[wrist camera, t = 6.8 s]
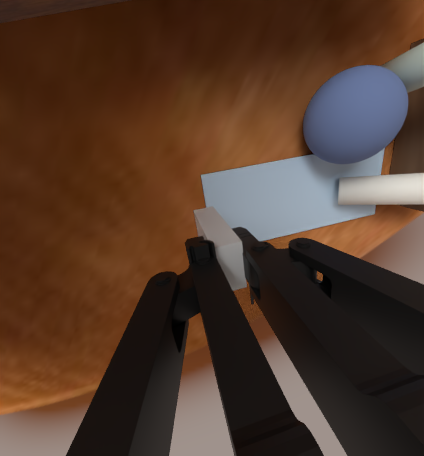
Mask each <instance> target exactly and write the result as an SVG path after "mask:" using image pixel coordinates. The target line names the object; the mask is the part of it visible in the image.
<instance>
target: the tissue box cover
mask: <svg viewBox="0 0 424 456" xmlns="http://www.w3.org/2000/svg"><path fill="white" fill-rule="evenodd" d="M124 1H130V0H0V23H5V22H10V21H16V20H22V19H27V18H33V17H39V16H44V15H50V14H56V13H61V12H67V11H73V10H79V9H84V8H90V7H96V6H101V5H107V4H113V3H118V2H124Z"/></svg>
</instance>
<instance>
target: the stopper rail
mask: <svg viewBox="0 0 424 456" xmlns="http://www.w3.org/2000/svg"><path fill="white" fill-rule="evenodd" d="M423 42H424V39H421V40H419V41H417V42H414V43H412V44H411V49H412V48H414V47H416V46H418V45H420V44H422V43H423ZM411 49H410V50H411ZM407 94H408V111H407V115H406V118H405V121H404V123H403V125H402V127H401V129H400V131H399V132H398V134H397V135H396V138H395V144H394V150H393V156H392V162H391V168H390V174H389V175H395V174H412V173H424V87H422V88H419V89H417V90H414V91H411V92H409V93H407ZM400 206H403V207H407V208H411V209H415V210H419V211H423V212H424V204H409V205H400Z"/></svg>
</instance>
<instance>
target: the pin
mask: <svg viewBox="0 0 424 456" xmlns="http://www.w3.org/2000/svg"><path fill="white" fill-rule="evenodd" d="M409 204H424V173H412V174H395V175H377V176H359V177H341V178H339V191H338V205H409Z"/></svg>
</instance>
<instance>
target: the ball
mask: <svg viewBox="0 0 424 456" xmlns="http://www.w3.org/2000/svg"><path fill="white" fill-rule="evenodd" d="M407 111H408V94H407V90H406V87H405V85H404V83H403V82H402V80H401V79H400V78H399V77H398V76H397V75H396V74H395V73H394V72H392V71H391V70H389V69H387V68H384V67H381V66H376V65H362V66H356V67H352V68H349V69H347V70H344V71H342V72H340V73H338V74H336V75H335V76H333V77H332V78H330V79H329V80H328V81H327V82H325V83H324V84H323V85H322V86H321V87H320V88H319V89H318V90H317V92H316V93H315V94H314V96H313V97H312V99H311V101H310V102H309V104H308V106H307V109H306V112H305V116H304V120H303V134H304V138H305V141H306V143H307V145H308V147H309V149H310V150H311V151H312V152H313V153H314V154H315V155H316V156H317V157H319V158H320V159H322V160H324V161H326V162H329V163H334V164H351V163H356V162H360V161H363V160H365V159H368V158H370V157H372V156H374V155H375V154H377V153H378V152H380V151H381V150H383V149H384V148H385V147H386V146H387V145H388V144H389V143H390V142H391V141H392V140H393V139H394V138H395V137H396V135H397V134H398V132H399V131H400V129H401V127H402V125H403V123H404V121H405V118H406V115H407Z"/></svg>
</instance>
